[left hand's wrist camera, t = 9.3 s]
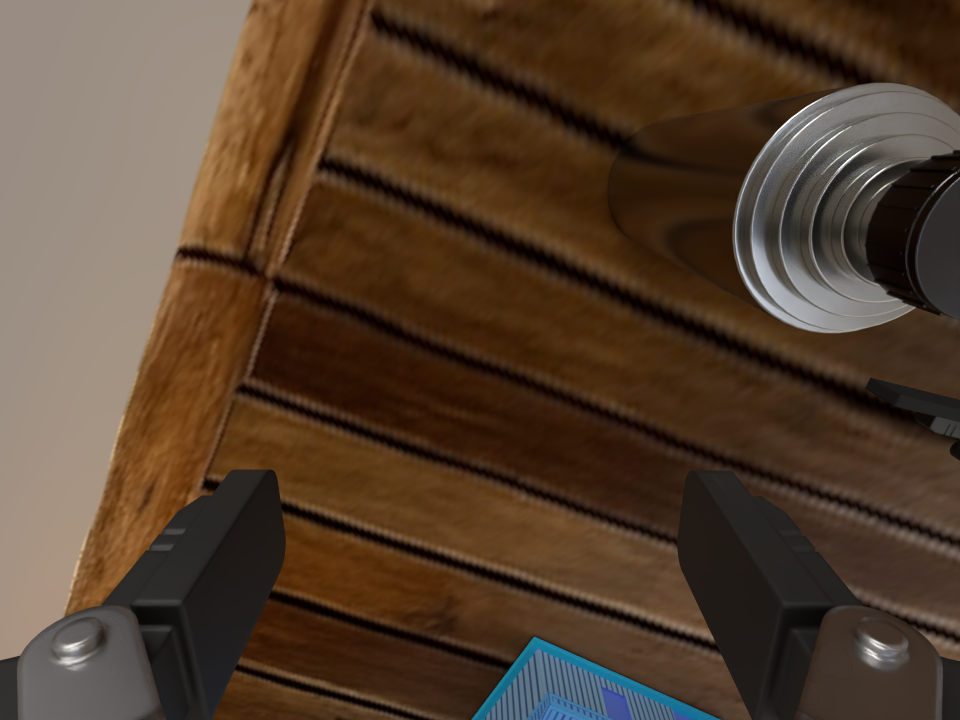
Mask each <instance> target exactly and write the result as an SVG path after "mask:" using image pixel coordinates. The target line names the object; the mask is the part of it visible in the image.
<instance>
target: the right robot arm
mask: <svg viewBox="0 0 960 720" xmlns="http://www.w3.org/2000/svg"><path fill="white" fill-rule="evenodd" d="M865 389H867V390H868V391H870V392H872V393H873V394H875V395H877V396H878V397H880V398H882V399H883V400H885V401H887V402H888V403H890V404H892V405H893V406H896V407H900V408H904V409H908V410H912V411H916V414H915V416H914V419H915V420H916V421H917V422H919V423H920V424H922V425H924V426H925V427H927V428H928V429H930V430H932V431H933V432H935V433H939V434H944V435H947V436H951V437H955V438H958V442H956V443H954V444H953V445H952V446H951V448H950V454H951V455H952V456H953V457H955V458H957V459H958V460H960V400H957V399H953V398H949V397H945V396H941V395H937V394H933V393H929V392H925V391H921V390H917V389H913V388H909V387H905V386H901V385H897V384H893V383H889V382H885V381H881V380H877V379H873V378H870V380H869V382H868V384H867V386H866V388H865Z"/></svg>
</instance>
